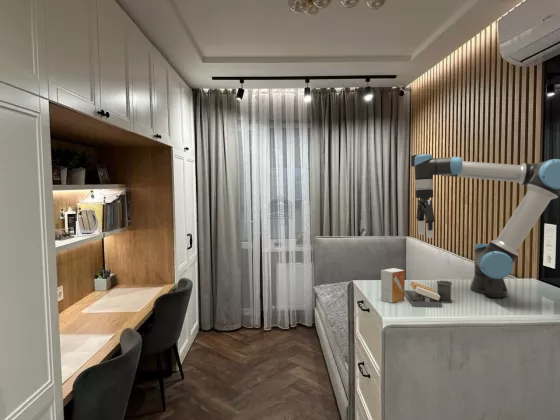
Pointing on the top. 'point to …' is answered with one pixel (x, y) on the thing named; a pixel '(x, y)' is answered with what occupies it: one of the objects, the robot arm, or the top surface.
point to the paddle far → (418, 284)
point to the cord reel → (444, 291)
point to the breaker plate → (421, 300)
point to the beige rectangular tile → (427, 293)
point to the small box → (392, 285)
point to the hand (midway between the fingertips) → (425, 236)
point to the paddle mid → (421, 287)
